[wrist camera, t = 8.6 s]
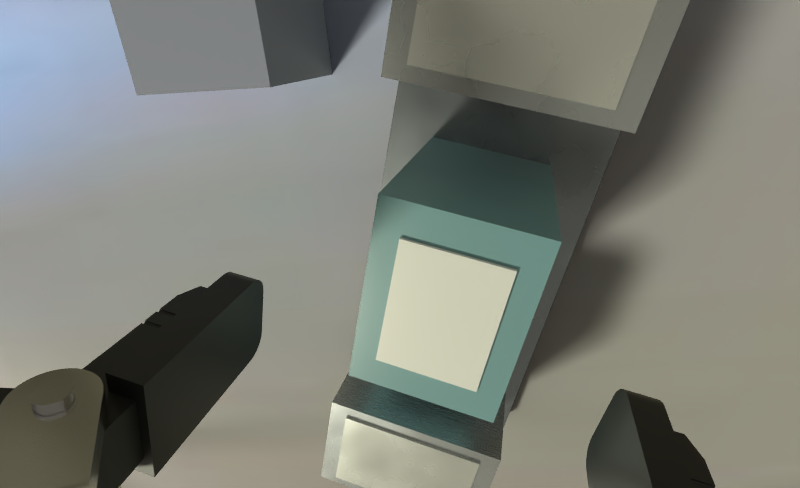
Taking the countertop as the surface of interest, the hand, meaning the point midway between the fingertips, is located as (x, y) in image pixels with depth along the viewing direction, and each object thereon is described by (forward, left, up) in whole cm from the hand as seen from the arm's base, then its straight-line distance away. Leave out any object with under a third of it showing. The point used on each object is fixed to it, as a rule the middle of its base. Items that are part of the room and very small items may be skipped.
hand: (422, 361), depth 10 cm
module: (0, 0, -9) cm, 9 cm away
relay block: (-6, -10, -10) cm, 15 cm away
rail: (0, 0, -10) cm, 10 cm away
